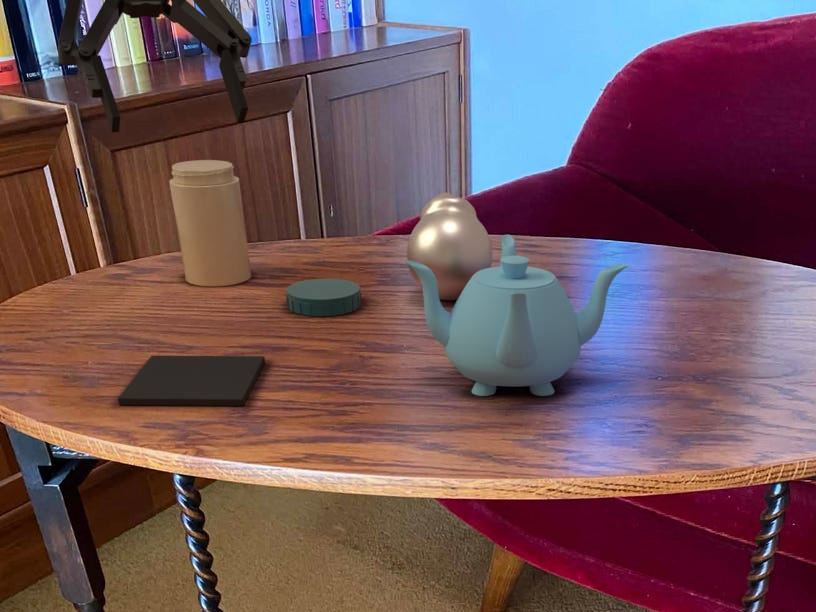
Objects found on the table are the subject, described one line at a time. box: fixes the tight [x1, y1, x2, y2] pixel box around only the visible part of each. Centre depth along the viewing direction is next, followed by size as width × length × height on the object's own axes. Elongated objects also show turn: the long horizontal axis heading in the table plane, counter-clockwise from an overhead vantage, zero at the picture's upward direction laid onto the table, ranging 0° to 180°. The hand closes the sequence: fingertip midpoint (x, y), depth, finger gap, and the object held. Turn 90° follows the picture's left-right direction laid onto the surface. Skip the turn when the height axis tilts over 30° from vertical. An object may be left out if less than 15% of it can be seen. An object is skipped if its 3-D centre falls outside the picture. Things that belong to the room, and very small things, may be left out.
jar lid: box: [285, 278, 363, 317], centre depth 99 cm, size 8×8×2 cm
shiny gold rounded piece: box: [406, 192, 494, 301], centre depth 99 cm, size 9×10×10 cm
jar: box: [168, 159, 252, 287], centre depth 104 cm, size 7×7×11 cm
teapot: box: [404, 234, 629, 397], centre depth 80 cm, size 13×13×10 cm
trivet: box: [117, 355, 266, 407], centre depth 81 cm, size 10×10×1 cm
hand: (181, 120), depth 102 cm, fingers open, 13 cm apart
